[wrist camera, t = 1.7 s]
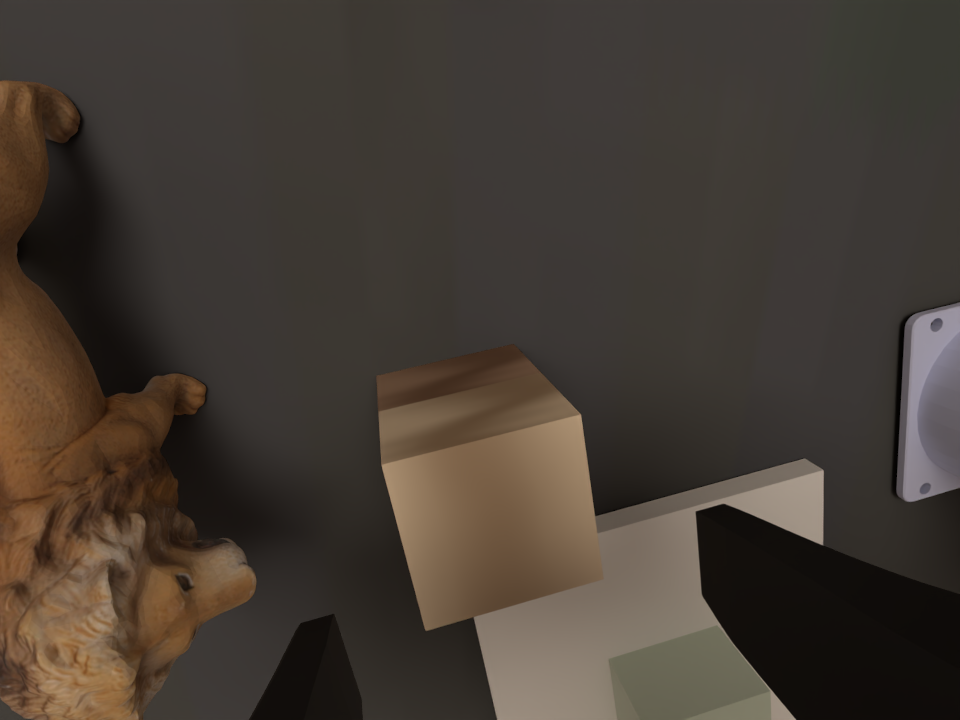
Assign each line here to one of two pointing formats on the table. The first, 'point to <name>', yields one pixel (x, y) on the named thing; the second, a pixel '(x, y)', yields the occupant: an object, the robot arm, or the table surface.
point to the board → (645, 618)
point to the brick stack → (486, 484)
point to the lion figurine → (86, 487)
